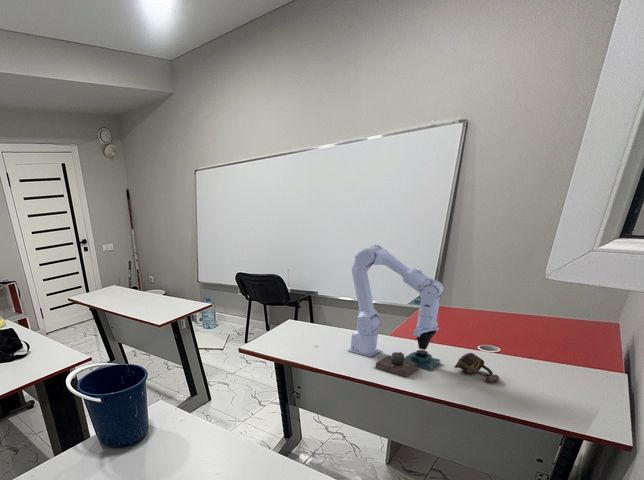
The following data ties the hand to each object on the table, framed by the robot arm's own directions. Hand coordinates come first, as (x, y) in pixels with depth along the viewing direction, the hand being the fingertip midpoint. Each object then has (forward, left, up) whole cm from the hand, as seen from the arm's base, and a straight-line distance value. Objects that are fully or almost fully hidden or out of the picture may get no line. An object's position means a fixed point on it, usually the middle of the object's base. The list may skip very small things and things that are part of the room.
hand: (422, 348), depth 136 cm
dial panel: (-4, -10, -6) cm, 12 cm away
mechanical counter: (+17, +1, -6) cm, 18 cm away
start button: (0, 0, -3) cm, 3 cm away
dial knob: (-4, -10, -4) cm, 11 cm away
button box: (0, 0, -6) cm, 6 cm away
